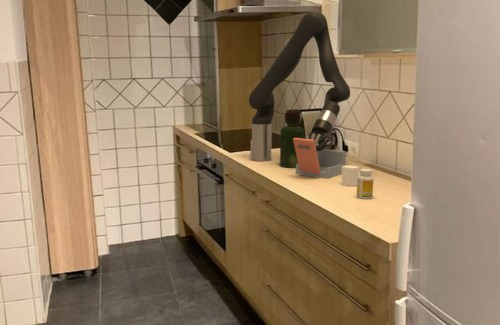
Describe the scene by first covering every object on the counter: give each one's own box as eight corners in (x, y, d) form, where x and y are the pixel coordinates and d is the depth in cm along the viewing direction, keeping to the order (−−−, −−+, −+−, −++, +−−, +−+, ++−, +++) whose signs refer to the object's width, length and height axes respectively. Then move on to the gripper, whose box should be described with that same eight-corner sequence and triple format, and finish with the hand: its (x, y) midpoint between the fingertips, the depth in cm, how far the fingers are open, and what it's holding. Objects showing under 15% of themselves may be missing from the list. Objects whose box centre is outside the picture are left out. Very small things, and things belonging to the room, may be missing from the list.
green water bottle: (307, 167, 225) (308, 110, 220) (285, 168, 222) (286, 111, 217) (297, 163, 235) (299, 108, 230) (276, 164, 231) (277, 109, 227)
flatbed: (314, 167, 224) (315, 147, 222) (345, 172, 215) (346, 151, 213) (296, 173, 212) (296, 152, 211) (327, 178, 203) (328, 156, 202)
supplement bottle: (353, 197, 175) (354, 169, 173) (361, 194, 179) (363, 167, 177) (367, 200, 172) (368, 172, 170) (375, 197, 176) (376, 169, 174)
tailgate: (301, 169, 210) (294, 137, 202) (320, 172, 204) (314, 139, 197) (299, 171, 208) (292, 139, 201) (318, 174, 203) (312, 142, 196)
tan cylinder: (337, 183, 195) (337, 165, 194) (352, 182, 198) (353, 164, 196) (346, 187, 189) (347, 169, 188) (362, 186, 191) (363, 167, 190)
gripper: (307, 117, 212) (291, 150, 205) (335, 119, 205) (320, 153, 198) (313, 128, 218) (297, 161, 211) (341, 130, 210) (326, 164, 203)
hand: (308, 157), depth 204 cm, fingers closed
